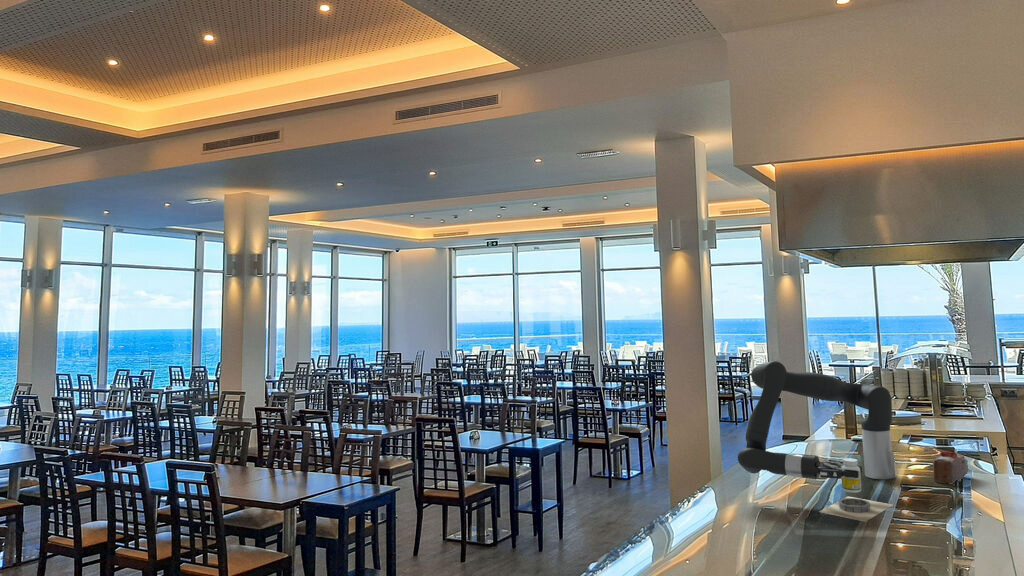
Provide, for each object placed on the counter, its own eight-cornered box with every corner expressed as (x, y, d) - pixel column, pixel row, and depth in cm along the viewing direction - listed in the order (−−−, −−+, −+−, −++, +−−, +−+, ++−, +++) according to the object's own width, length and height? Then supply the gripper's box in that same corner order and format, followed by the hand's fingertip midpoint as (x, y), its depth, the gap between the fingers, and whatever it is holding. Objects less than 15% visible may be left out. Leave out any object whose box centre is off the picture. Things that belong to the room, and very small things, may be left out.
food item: (945, 473, 243) (943, 446, 243) (970, 477, 237) (968, 449, 237) (931, 482, 234) (929, 454, 234) (957, 486, 228) (955, 457, 228)
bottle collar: (866, 504, 212) (865, 498, 212) (873, 513, 204) (872, 507, 204) (836, 503, 214) (836, 497, 214) (842, 512, 206) (841, 506, 206)
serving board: (848, 499, 221) (847, 496, 221) (893, 508, 210) (893, 504, 210) (818, 515, 208) (818, 511, 208) (865, 525, 197) (865, 521, 197)
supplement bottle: (858, 494, 206) (857, 462, 206) (840, 491, 209) (838, 460, 209) (863, 489, 210) (861, 458, 210) (844, 486, 213) (843, 456, 213)
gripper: (796, 459, 212) (855, 465, 202) (806, 449, 224) (863, 454, 214) (797, 483, 212) (857, 490, 202) (807, 472, 224) (864, 478, 214)
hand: (859, 472), depth 208 cm, fingers closed on supplement bottle, 5 cm apart
